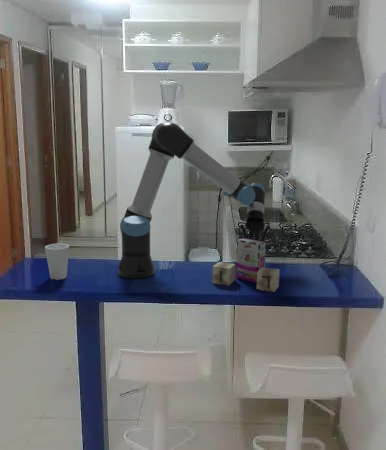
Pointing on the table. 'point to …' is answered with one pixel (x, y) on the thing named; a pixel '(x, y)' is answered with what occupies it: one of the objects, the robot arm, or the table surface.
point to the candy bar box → (250, 259)
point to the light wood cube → (268, 279)
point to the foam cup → (57, 260)
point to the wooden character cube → (223, 273)
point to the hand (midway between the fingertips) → (253, 260)
